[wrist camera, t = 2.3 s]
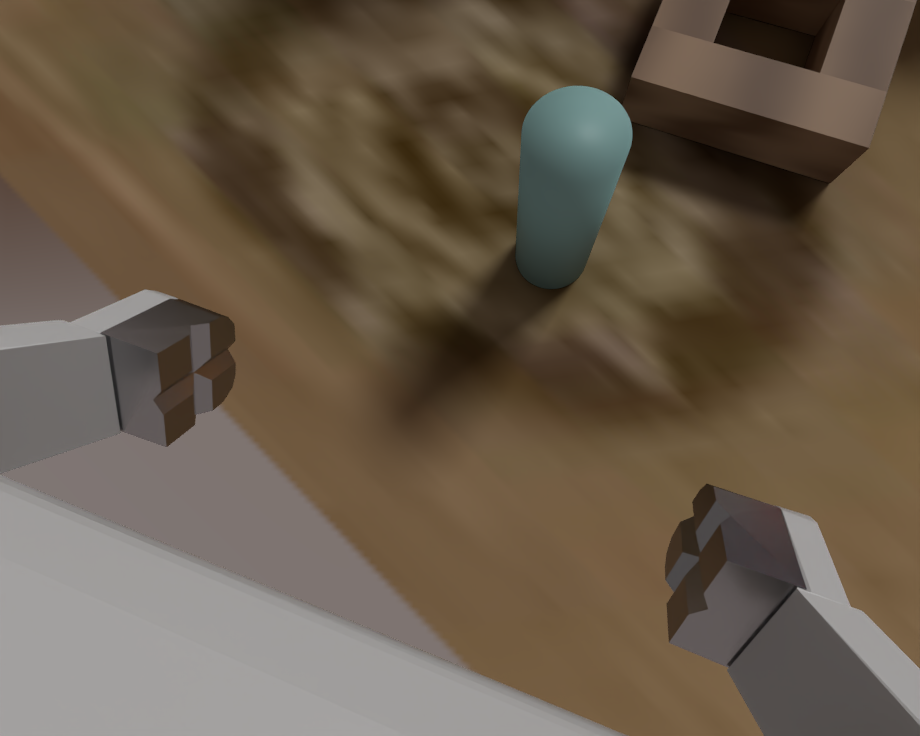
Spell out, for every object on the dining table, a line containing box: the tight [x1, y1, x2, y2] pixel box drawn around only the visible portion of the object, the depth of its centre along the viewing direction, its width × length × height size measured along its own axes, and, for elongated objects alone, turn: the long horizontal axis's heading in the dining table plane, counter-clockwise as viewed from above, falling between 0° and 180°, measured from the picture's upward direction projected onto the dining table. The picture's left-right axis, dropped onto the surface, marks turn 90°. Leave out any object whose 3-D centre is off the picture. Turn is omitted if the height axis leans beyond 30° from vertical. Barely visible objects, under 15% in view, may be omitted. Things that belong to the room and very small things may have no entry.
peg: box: [515, 86, 632, 289], centre depth 23 cm, size 4×4×10 cm
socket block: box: [622, 0, 917, 183], centre depth 27 cm, size 11×11×3 cm
